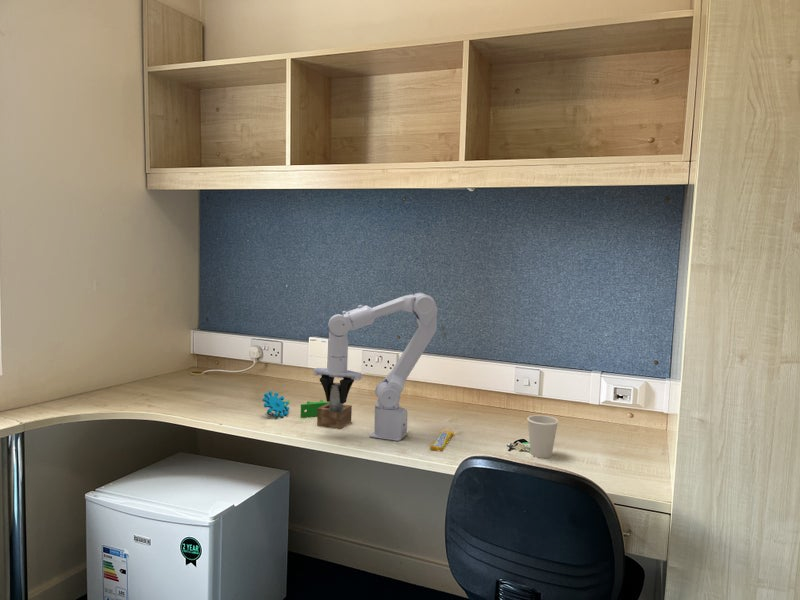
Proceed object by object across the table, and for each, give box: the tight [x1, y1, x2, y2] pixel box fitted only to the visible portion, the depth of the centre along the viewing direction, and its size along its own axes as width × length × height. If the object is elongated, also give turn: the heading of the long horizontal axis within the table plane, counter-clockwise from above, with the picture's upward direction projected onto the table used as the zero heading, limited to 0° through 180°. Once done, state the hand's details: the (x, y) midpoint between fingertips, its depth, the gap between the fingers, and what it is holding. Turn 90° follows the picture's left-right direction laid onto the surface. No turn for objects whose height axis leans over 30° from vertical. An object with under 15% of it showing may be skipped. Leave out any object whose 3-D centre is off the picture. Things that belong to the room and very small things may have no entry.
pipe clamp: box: [300, 399, 329, 419], centre depth 199 cm, size 11×4×5 cm, turn 116°
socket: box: [316, 403, 353, 430], centre depth 190 cm, size 8×8×6 cm
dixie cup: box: [527, 414, 559, 459], centre depth 166 cm, size 8×8×10 cm
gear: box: [262, 390, 291, 418], centre depth 198 cm, size 11×6×10 cm
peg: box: [329, 382, 343, 413], centre depth 176 cm, size 4×4×8 cm
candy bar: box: [429, 430, 455, 452], centre depth 175 cm, size 17×4×2 cm, turn 164°
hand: (336, 401), depth 177 cm, fingers closed on peg, 4 cm apart
